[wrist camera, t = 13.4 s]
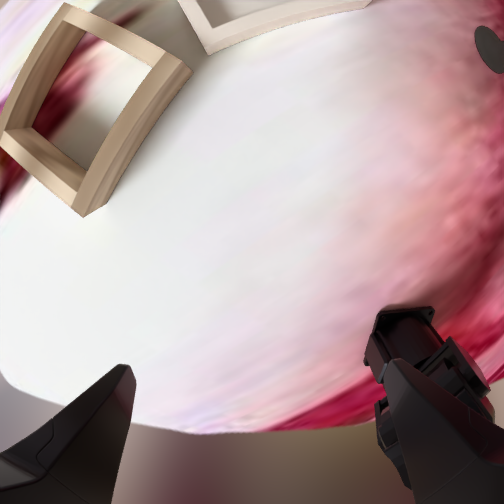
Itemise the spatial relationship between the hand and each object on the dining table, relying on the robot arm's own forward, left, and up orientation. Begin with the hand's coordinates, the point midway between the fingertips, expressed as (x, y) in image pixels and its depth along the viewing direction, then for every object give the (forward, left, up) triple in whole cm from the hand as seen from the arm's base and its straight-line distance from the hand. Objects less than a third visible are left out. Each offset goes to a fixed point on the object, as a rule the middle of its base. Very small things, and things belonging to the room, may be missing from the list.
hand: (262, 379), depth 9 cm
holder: (+12, -11, -13) cm, 21 cm away
